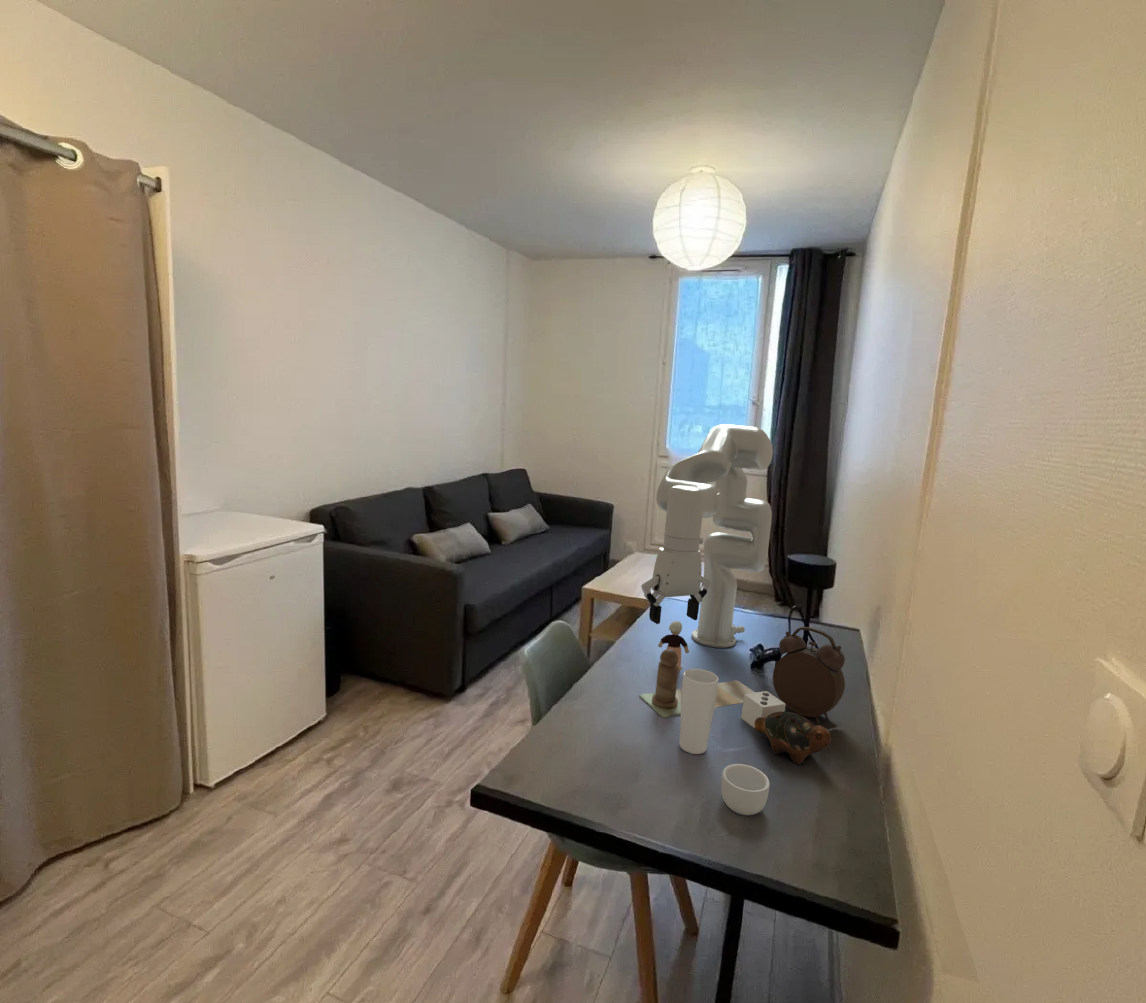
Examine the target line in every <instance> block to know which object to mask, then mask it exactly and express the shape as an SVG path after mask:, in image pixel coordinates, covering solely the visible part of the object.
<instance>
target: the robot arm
mask: <svg viewBox="0 0 1146 1003" xmlns="http://www.w3.org/2000/svg"><path fill="white" fill-rule="evenodd" d="M773 449H774V448H773V443H772V441H771V439H770V437H769V436H768V434H767V433H766V432H765V431H764V430H763V429H761V428H760V427H757V426H751V425H749V426H748V425H739V424H737V425H736V424H727V423H726V424H718V425H716V426H714V427H712V428H711V429H710V431H708V434H707V435H706V437H705V439H704V441H703V443H702V445H701V447H700V448H699V449H698V452H697V453H696V454H693V455H690V456H688V457H685V458H683V459H680V460H679V461H677V462H675V463H674V464H672V465H671V466H670V467H669V468H668V469H667V470H666V472H665V474H664V475H663V477H662V479H661V480H660V483H659V485H658V488H657V491H656V494H655V495H656V497H655V499H656V504H657V506H658V509H660V510H662V511H663V512H666V514H665V524H664V535H663V545H662V547H659V549H658V552H657V554H656V555H657V556H656V559H655V563H654V565H653V566H654V567H653V573H652V578H650V579H649V580H647V581H645V582H644V583H642V584H641V586H640V587H641V590H642V592H643V596H644V598H645V599H646V600H647V602H648V603H649V613H648V615H649V621H651V622H653V623H654V624H656V625H659V624H661V617H662V606H661V603H662V602H663V601H664V600H665V599H666V598H674V597H687V596H688V597H690V598H688V599H687V606H686V607H687V609H686V616H687V617H688V618H690V619H691V620H693V621H697V620H698V626H697V629H694V630H692V632H691V638H692V639H693V640H694V641H695V642H697V643H699V644H701V645H704V646H707V647H712V648H719V649H720V648H721V649H723V648H724V649H725V648H730V647H733V646H735V645H736V643H737V638H736V637H735V635H736V634H741V633H742V634H743V633H744V632H745V630H746V629H745V627H744V626H743V625H740V626H736V625H735V624H733V623H734V622H733V621H734V613H735V607H736V606H735V604H736V599H737V598H736V597H737V588H738V582H737V579H736V576H735V575H734V573H733V571H732V570H739V571H745V572H751V573H752V572H753V573H760V572H763V570H764V569H765V567H766V564H767V560H768V554H769V546H770V545H769V544H770V537H771V536H770V535H771V530H772V529H771V526H772V516H773V512H772V507H771V505H770V503H769V502H768V501H766V500H764V499H758V498H751V497H747V487H748V477H747V474H746V473H745V471H744V469H748V470H754V471H755V470H756V471H761V470H762V471H763V470H765V469H767V468H768V467H770V464H771V463H772V459H773V454H774V452H773ZM713 482H715V485H714V484H712V483H713ZM710 483H711V484H710ZM708 518H712V522H713V524H714V525H715V526H716V527H718V528H720V529H726V530H732V531H737V532H743V533H749V534H750V536H747V535H746V536H745V535H739V534H735V533H729V532H728V533H727V532H712V533H710V534H709V535H707V537H706V538H705V539H703V538H702V537H701V532H702V520H703V519H708ZM701 544H703V562H702V554H701V553H702V552H701V550H700V545H701ZM702 563H703V565H702ZM702 566H703V569H702ZM702 570H703V576H702ZM651 590H652V591H653V592H652V591H651ZM698 614H699V615H698Z"/></svg>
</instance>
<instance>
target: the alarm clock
mask: <svg viewBox="0 0 1146 1003" xmlns="http://www.w3.org/2000/svg"><path fill="white" fill-rule="evenodd" d="M800 631H809V632H813V633H816V634H819V635H822V636H823V637H824V638H827V639H828V640H829V642H830V644H823V645H821V646H820V647H819V648H816V646H817V643H816V642H814V641H809V642H808V645H810V646H807V644H806V642H805V640H804V639H803V637H802V636H800V635H798V633H799V632H800ZM778 646H779V652H780V654H785V655H782V657H781V658H779V660H777V662H776V664H775V666H774V669H773V673H772V683H773V688H774V690H775V693H776V694H777V696H778V697H777V698H778V699H779V700H781V701H782V702H784V703H785V704H786V706H785V708H788V709H789V710H791V712H792V713H796V714H798V715H801V716H803V717H809V718H812V717H813V718H815V720H816V723H817V724H820V722H821V721H820V720H819V717H820V716H822V715H824V717H825V720H829V719H830V718H829V717H828V712H830V711H831V710H832V709H834V708H835V707H836V706H837V705H838V704H839V702H840V701H841V699H842V698H843V696H844V693H845V688H846V681H845V676H844V673H843V670H842V669H843V667H844V665H845V662H846V658H845V654H844V653H843V651H842V650H841V649H842V646H841V645H836V642H835V640H834V637H832V636H831V635H830V634H828V633H826V632H825V631H822V630H821V629H817V628H814V627H808V626H800V627H798V628H796V630H795V631H794V632H793V633H792V634H791V633H790V632H789V631H788V630H787V631H786V632H785V636H784V637H782V638H781V639H780V641H779V644H778Z"/></svg>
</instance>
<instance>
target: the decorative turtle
mask: <svg viewBox="0 0 1146 1003" xmlns="http://www.w3.org/2000/svg"><path fill="white" fill-rule="evenodd" d="M754 730H756V731H757V732H758V733H760V734H763V735H764V736H766V737H767V739H768V741H769V743H770V748H771V750H772V751H773V753H774V754H775V755H781V754H783V753H785V752H786V753H787V754H788V755H789V757H790V759H791V761H792V762H793V763H794V764H796V765H800V764H802V763H803V761H804V760H805V759H806V758H807V757H808V756H811V755H812V754H814V753H818V752H821V751H823V750H825V749H826V748H827V747H828V746H829V745H831V741H832V735H831V733H830V732H829V731H830V730H828V729H827V728H826V727H824V726H822V725H819V724H815V725H814V723H813V722H811V720H809V719H807V718H806V716H803V715H800V714H797V713H795V712H793V711H785V712H782V711H780V712H775V713H772V714H770V715H768V716H767V717H766V718H761V717H759V718H757V719H756V720H755V728H754Z"/></svg>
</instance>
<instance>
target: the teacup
mask: <svg viewBox="0 0 1146 1003" xmlns="http://www.w3.org/2000/svg"><path fill="white" fill-rule="evenodd" d="M770 785H771V784H770V780H769V778H768V776H767V775H766V774H765V773H764V772H763V771H761V770H760V769H758V768H756V767H754V766H752V765H748V764H743V763H733V764H729V765H726V767H724V769H723V770H722V774H721V796H722V799H723V801H724V803H725V804H726V806H727V807H728V808H729V809H730V810H731V811H733V812H734V813H737V814H739V815H742V816H753V815H755V814H759V813H760V812H761V811H762V810H763V809H764V808H765V806H766V804H767V801H768V797H769V793H770Z"/></svg>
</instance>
